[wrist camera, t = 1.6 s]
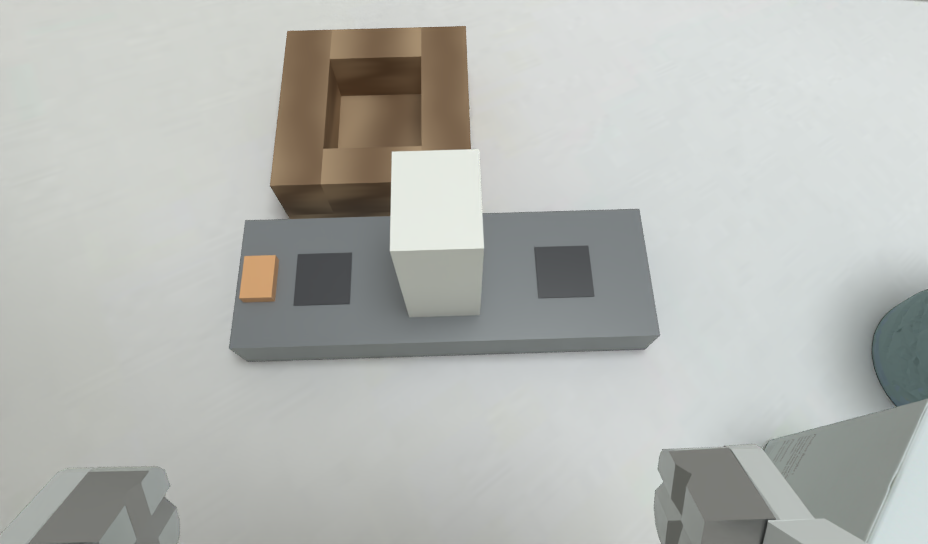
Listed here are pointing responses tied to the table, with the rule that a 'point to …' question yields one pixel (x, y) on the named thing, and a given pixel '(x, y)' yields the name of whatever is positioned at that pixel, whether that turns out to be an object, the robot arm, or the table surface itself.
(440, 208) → the white rectangular block
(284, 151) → the square wooden tray
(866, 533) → the supplement box
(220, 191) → the table surface
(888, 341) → the teal plant pot
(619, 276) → the power strip
